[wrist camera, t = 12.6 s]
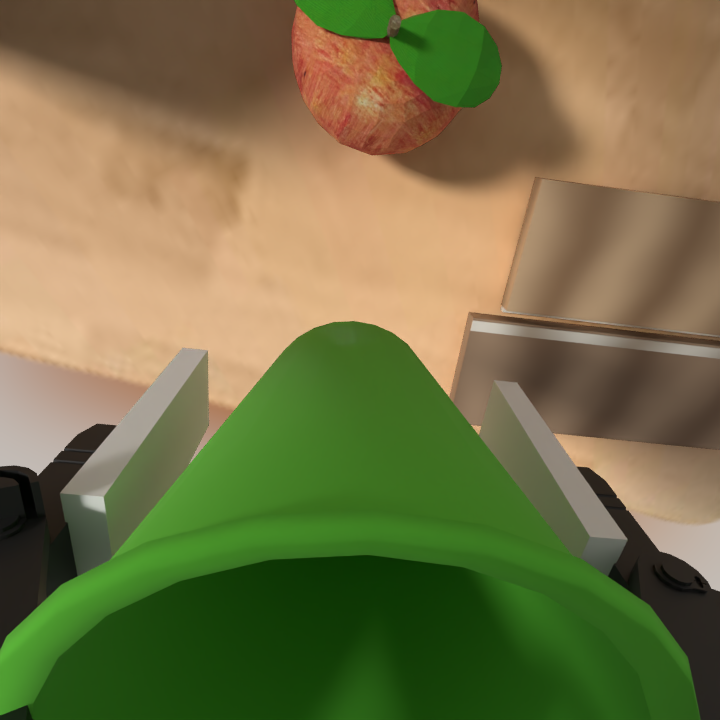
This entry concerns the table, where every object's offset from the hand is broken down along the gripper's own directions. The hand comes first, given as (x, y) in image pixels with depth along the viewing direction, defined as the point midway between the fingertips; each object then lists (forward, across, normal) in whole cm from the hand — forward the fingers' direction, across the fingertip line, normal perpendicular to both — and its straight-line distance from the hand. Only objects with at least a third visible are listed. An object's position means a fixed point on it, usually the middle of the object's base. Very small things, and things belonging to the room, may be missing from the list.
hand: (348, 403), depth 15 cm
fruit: (+17, 0, +12) cm, 21 cm away
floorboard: (+16, +19, -6) cm, 26 cm away
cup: (+1, 0, 0) cm, 1 cm away
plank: (+16, +19, +3) cm, 25 cm away
